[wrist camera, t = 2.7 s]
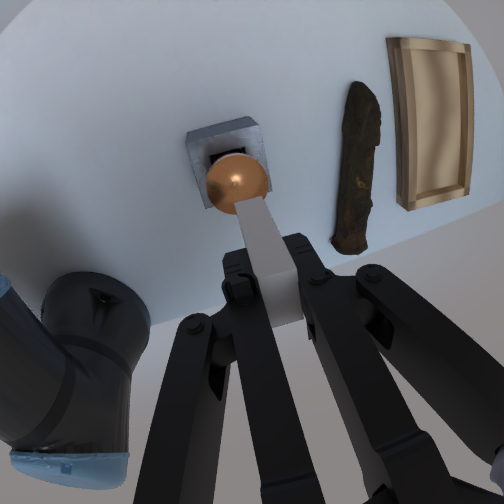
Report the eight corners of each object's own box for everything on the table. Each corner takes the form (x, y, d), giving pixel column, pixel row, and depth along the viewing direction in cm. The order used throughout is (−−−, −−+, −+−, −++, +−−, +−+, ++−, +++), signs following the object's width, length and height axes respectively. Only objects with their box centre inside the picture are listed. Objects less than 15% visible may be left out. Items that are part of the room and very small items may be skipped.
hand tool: (356, 238, 38) (373, 258, 34) (327, 241, 38) (342, 262, 34) (374, 84, 28) (399, 88, 24) (341, 80, 27) (363, 83, 23)
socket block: (203, 188, 31) (205, 209, 27) (187, 132, 28) (185, 144, 24) (261, 172, 31) (272, 191, 27) (249, 116, 28) (259, 124, 24)
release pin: (210, 187, 29) (215, 221, 23) (197, 143, 26) (198, 165, 20) (256, 175, 29) (273, 205, 23) (246, 130, 26) (262, 149, 21)
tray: (396, 202, 36) (407, 211, 34) (385, 37, 25) (399, 37, 22) (457, 186, 36) (469, 194, 34) (455, 43, 25) (470, 44, 23)
